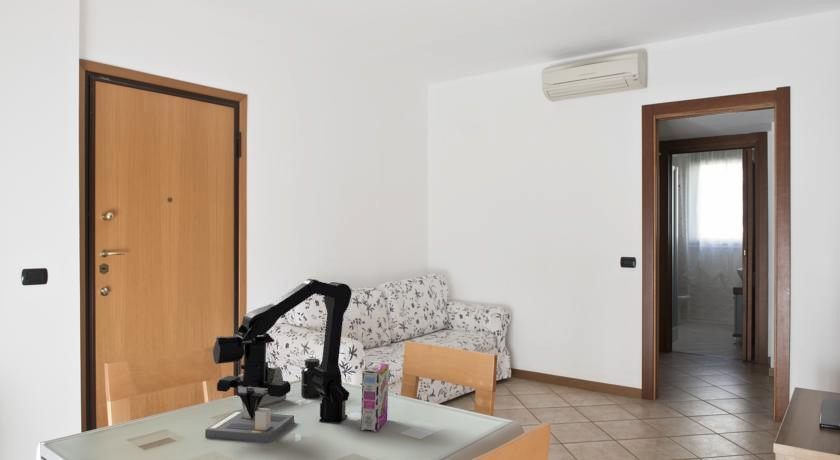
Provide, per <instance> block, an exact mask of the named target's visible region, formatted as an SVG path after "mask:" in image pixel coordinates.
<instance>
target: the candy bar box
mask: <svg viewBox="0 0 840 460" xmlns="http://www.w3.org/2000/svg"><path fill="white" fill-rule="evenodd" d="M389 367H390V365H389V363H381V362H380V363H375V362H373V363H372V364H371V365H369V366H368V367H366V368H365V369H364V370H362V377H361V409H360V410H361V412H360V413H361V416H360V418H361V421H360V431H364V432H373V433H374V432H375V433H377V432H378V431H379V430H380V428H382V426H383V425H384V424H385V422H386V421H387V420H388V408H389V407H388V405H389V404H388V403H389V402H388V399H389V394H388V393H389Z"/></svg>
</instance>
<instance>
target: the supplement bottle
mask: <svg viewBox="0 0 840 460" xmlns="http://www.w3.org/2000/svg"><path fill="white" fill-rule="evenodd" d="M320 364H321V362H320V359H319V358H307V359H305V360H304V367H303V368H302V369H301V380H300V381H301V387H300V395H301V398H304V399H308V400H309V399H311V400H312V398H313V399H319V398H320V397H321V396H320V393H319V391H318V390H317V389H316V388H315V387H314V382H313V381H312V379H313V376H314V367H316V368H319V366H320Z"/></svg>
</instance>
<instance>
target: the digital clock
mask: <svg viewBox="0 0 840 460" xmlns="http://www.w3.org/2000/svg"><path fill="white" fill-rule="evenodd" d="M271 368H273V369H275V375H274V380H273V381H270V380H269V381H268V382H265V383H269V384H271V383H273V382H274V381H276V380H281V381H284V378H283V377H284V376H283V373H282V368H281V367H280V366H279V365H277V366H272V367H271ZM237 377H240V379H241V380H243V373H240V374H238V375H237ZM248 386H249V385H248ZM286 399H287V394H285V395H284V396H282V397H275V396H270V395H269V394H267V395H265V396H264V397H263V398H262V400H261V402H260V404H259V408H263V407H267V406H271V405H274V404H278V403H279V402H283V401H285V400H286ZM241 405H242V408H243V410H244V403H243V401H242V400H241Z"/></svg>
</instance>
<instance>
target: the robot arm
mask: <svg viewBox="0 0 840 460" xmlns="http://www.w3.org/2000/svg"><path fill="white" fill-rule="evenodd" d="M314 295H319V296H320V295H321V296H322V297H323V301H324V306H325V310H326V320H325V321H326V322H325V332H324V342H323V347H322V350H323V351H322V357H321V358H322V359H321V362H320V366H319V368H316V367H314V376H313V379H312V381H313V382H314V387H315V388H316V389H317V390H318V391H319V393H320V397H322V398H321V403H319V418H320V419H319V423H320V422H321V423H332V424H341V423H343V421H345V419H347V417H348V414H346V402H347V401H348V399H349V397H350V392H349V391H348V390H347V389H346V388H345V387H344V386H343V384H342V383H343V381H342V380H343V379H342V372H341V369H340V366H339V361H340V359H339V358H340V351H341V342H342V340H341V339H342V333H343V323H344V315H345V313H346V311H347V310H348V307H350V306H349V305H350V303H351V302H350V301H351V298H352V289H351V288H350V286H349V285H348V284H347V283H342V282H336V281H332V282H329V283H327V282H324V281H323V282H322V281H319V280H318V279H315V278H314V279H313V278H307V279H305V280H304V281H303V282H302V283H300V284H299V285H298V286H296V287H295V288H292V289H291V290H289V291H288V292H287V293H285V294H283V296H281V297H279V298H278V299H276V300H274V301H273V302H272V303H270V304H267V305H265V306H261V307H258V308H256V309H253V310H251V311H248V312H247V313H246V314H245V315H244V316H242V321H241V324H240V326H238V329H236V331H235V332H234V334H233V336H222V335H221V336H217V337H216V338H215V339H216V341H215V343H214V346H213V348H212V355H213V362H214V363H215V364H216V365H219V364H220V365H221V364H227V363H228V364H230V363H238V362H240V360H242V359H243V363H242V364H240V369H241V370H243V372H242V374H243V380H241V379H240V377H238V375H236V376H235V375H227V376H224V377H223V378H220V379H219V380H218V381H217V383H216V391H217V392H226V393H227V392H228V391H230V389H231V388H235V389H237V391H238V392H237V393H236V396H237V397H239V398H240V399H241V402H242V401H243V403H244V405H245V407H246V409H247V411H248V413H249V415H250V418H251V419H253V418H254V417H255V411H256V410H258V407H259V404H260V402H261V400H262V398H263V397H264V396H265V395H267V394H269V395H270V396H275V397H282V396H284V395H285V394H286V395H287V394H288V393H290V392H291V386H292V385H291V383H290V382H289V381H288V380H283V381H281V380H276V381H274V382H273V383H271V384H269V383H265V382H268V381H269V380H270V381H273V380H274V375H275V369H273V368H272V367H269V361H267V344H269V343H274V342H275V339H274V338H273V337H271V335H270V334H269V333H268V332H269V331H270V330H271V329H272V328H273V327H274V326H275V325H276V324H277V322H278V320H279V319H280V318H281V317H283V316H284V315H286V314H287V313H288V312H290V311H291V310H293V309H294V308H296V307H297V306H299V305H301V304H302V303H304V302H305V301H306V300H307V299H309V298H311V297H312V296H314ZM248 385H249V386H248Z"/></svg>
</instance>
